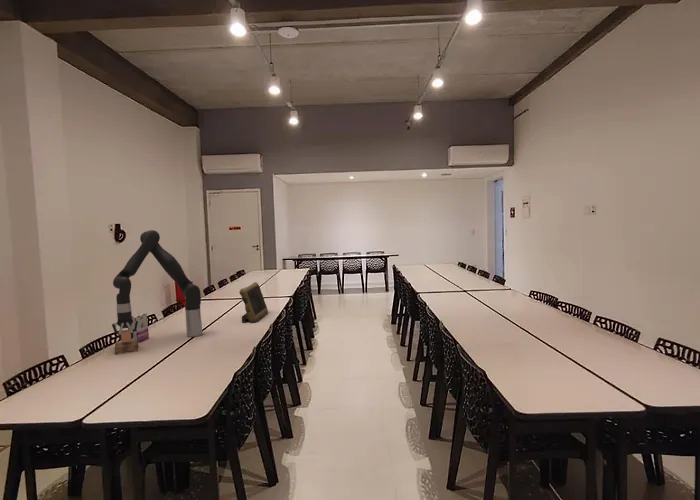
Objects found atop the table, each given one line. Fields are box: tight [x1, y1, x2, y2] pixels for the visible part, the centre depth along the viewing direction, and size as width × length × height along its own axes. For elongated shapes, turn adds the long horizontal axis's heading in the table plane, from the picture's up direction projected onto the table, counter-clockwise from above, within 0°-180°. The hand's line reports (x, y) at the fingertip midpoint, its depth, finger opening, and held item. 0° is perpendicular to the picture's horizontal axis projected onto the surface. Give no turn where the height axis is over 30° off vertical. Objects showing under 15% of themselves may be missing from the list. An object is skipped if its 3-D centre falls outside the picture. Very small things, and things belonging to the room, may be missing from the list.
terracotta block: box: [120, 329, 131, 343], centre depth 261 cm, size 5×5×6 cm
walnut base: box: [114, 339, 139, 355], centre depth 262 cm, size 12×12×4 cm
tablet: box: [239, 281, 269, 324], centre depth 333 cm, size 33×14×25 cm, turn 179°
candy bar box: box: [131, 312, 150, 343], centre depth 281 cm, size 11×5×16 cm, turn 168°
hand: (126, 339), depth 261 cm, fingers closed on terracotta block, 4 cm apart
